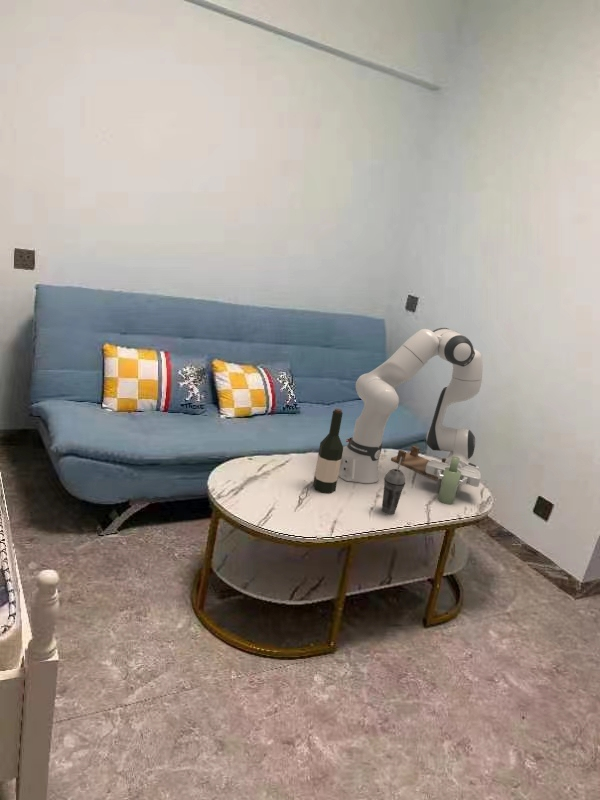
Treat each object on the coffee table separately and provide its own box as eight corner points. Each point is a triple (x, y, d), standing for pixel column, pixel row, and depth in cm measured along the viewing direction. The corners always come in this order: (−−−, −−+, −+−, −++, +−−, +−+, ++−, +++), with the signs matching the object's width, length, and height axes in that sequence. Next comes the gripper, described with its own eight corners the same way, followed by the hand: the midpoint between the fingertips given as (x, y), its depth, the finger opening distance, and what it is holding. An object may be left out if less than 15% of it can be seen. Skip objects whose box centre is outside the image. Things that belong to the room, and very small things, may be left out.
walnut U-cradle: (390, 460, 261) (393, 449, 260) (408, 454, 272) (410, 443, 270) (436, 480, 248) (439, 468, 246) (453, 473, 258) (455, 461, 257)
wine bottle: (333, 495, 219) (348, 415, 211) (310, 490, 220) (324, 410, 212) (337, 486, 227) (351, 408, 219) (314, 481, 228) (328, 404, 220)
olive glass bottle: (434, 499, 230) (444, 456, 225) (442, 495, 234) (452, 453, 229) (448, 505, 226) (459, 462, 221) (456, 501, 231) (467, 459, 226)
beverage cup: (374, 510, 212) (385, 456, 207) (383, 504, 218) (394, 451, 213) (392, 518, 209) (404, 464, 203) (402, 512, 215) (414, 458, 209)
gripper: (430, 453, 242) (424, 464, 229) (483, 467, 236) (480, 479, 223) (426, 468, 244) (420, 480, 231) (479, 482, 237) (476, 495, 225)
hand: (450, 480), depth 227 cm, fingers closed on olive glass bottle, 6 cm apart
